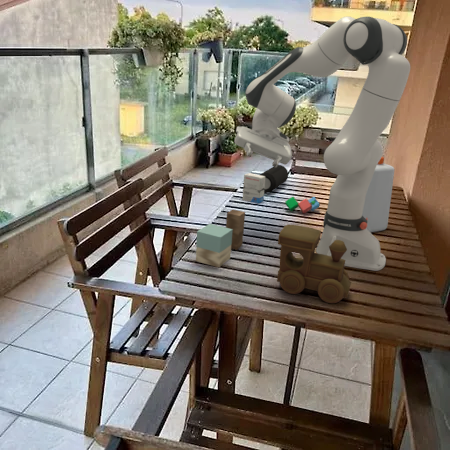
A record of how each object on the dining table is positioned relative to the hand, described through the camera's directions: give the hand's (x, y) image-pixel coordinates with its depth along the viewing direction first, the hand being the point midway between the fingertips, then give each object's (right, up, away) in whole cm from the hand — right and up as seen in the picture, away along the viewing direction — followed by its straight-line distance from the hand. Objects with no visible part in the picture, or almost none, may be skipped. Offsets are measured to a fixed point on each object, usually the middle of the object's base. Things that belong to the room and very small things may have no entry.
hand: (262, 160), depth 146 cm
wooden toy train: (+12, -40, -22) cm, 47 cm away
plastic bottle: (+42, -22, +31) cm, 57 cm away
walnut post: (-10, -29, +3) cm, 30 cm away
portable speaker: (+11, -3, +75) cm, 76 cm away
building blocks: (+20, -16, +43) cm, 50 cm away
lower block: (-16, -32, -8) cm, 37 cm away
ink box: (0, -11, +53) cm, 54 cm away
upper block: (-16, -28, -10) cm, 33 cm away
